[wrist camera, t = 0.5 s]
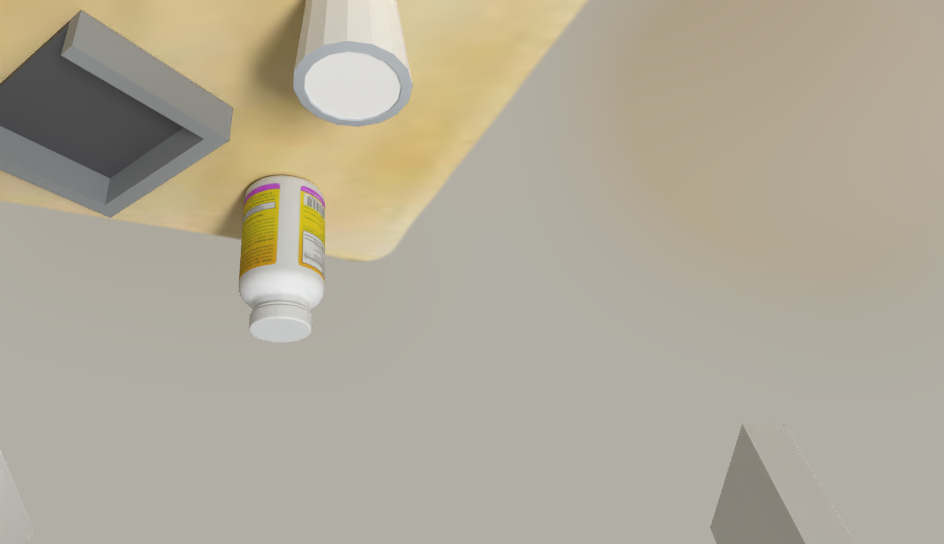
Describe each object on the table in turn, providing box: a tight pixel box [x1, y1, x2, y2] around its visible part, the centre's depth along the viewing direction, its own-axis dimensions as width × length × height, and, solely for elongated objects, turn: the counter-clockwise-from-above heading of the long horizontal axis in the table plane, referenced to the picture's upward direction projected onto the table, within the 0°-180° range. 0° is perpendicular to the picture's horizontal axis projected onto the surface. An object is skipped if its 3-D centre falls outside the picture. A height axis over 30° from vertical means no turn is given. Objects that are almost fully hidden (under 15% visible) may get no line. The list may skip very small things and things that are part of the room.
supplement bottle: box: [239, 175, 325, 342], centre depth 57 cm, size 7×7×13 cm
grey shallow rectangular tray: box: [0, 10, 233, 218], centre depth 49 cm, size 11×14×3 cm
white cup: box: [293, 0, 413, 127], centre depth 42 cm, size 7×7×7 cm
